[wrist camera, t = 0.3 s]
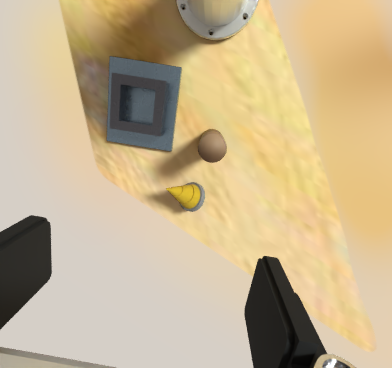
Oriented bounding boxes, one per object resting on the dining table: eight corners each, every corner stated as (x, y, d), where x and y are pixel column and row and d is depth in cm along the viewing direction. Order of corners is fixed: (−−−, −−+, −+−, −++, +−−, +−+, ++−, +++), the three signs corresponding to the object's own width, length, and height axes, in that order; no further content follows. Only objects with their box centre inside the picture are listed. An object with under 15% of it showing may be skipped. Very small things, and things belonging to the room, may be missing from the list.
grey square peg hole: (111, 57, 39) (101, 51, 35) (181, 68, 39) (179, 63, 35) (108, 140, 43) (99, 142, 39) (172, 150, 43) (168, 154, 39)
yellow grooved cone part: (189, 211, 47) (151, 202, 39) (195, 185, 48) (159, 172, 40) (210, 216, 43) (173, 207, 36) (216, 188, 44) (181, 174, 37)
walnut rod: (202, 127, 41) (200, 131, 32) (224, 131, 41) (229, 136, 32) (199, 149, 43) (196, 160, 33) (220, 153, 42) (223, 164, 33)
